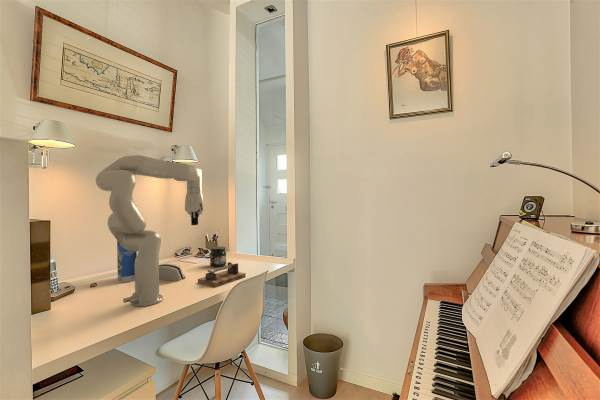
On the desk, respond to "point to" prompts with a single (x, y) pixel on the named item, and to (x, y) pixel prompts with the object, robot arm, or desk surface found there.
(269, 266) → the desk surface
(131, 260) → the string lights box
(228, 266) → the strap
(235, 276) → the strap board
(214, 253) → the supplement container
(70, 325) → the desk surface
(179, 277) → the grey curved block
